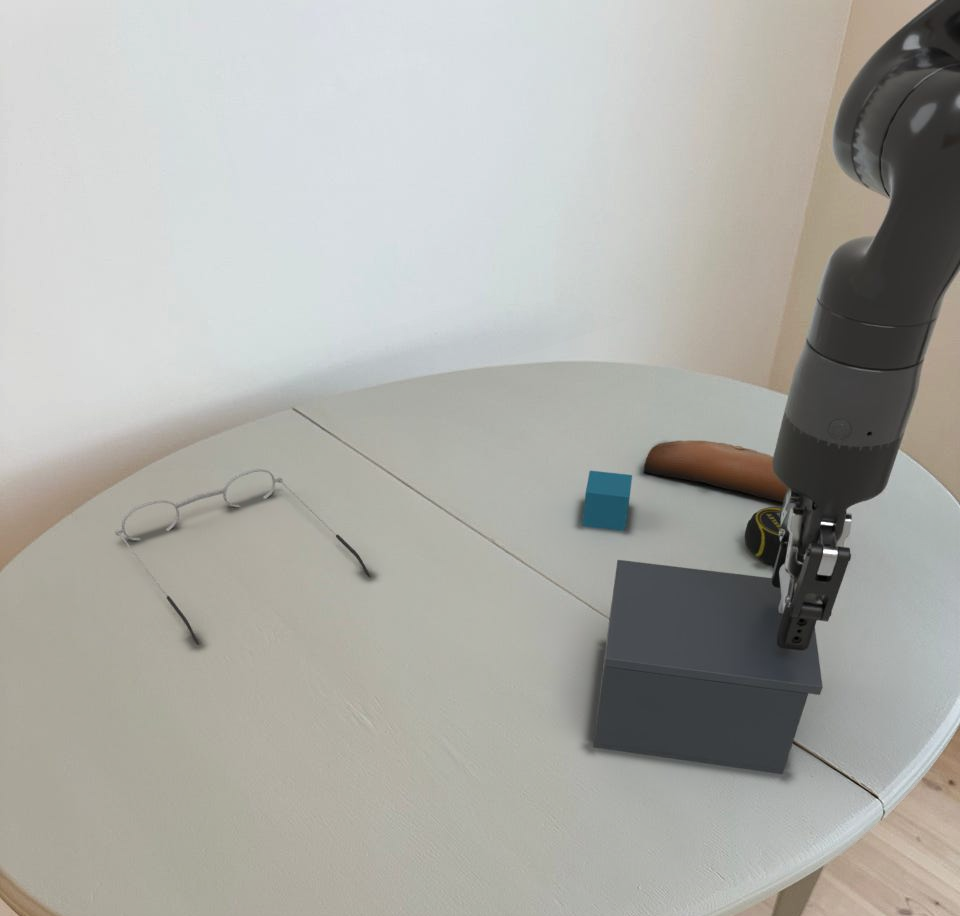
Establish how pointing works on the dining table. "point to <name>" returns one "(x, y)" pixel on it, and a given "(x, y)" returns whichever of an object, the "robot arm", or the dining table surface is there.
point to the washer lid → (706, 627)
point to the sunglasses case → (717, 466)
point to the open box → (696, 719)
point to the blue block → (607, 500)
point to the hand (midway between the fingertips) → (788, 614)
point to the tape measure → (764, 534)
